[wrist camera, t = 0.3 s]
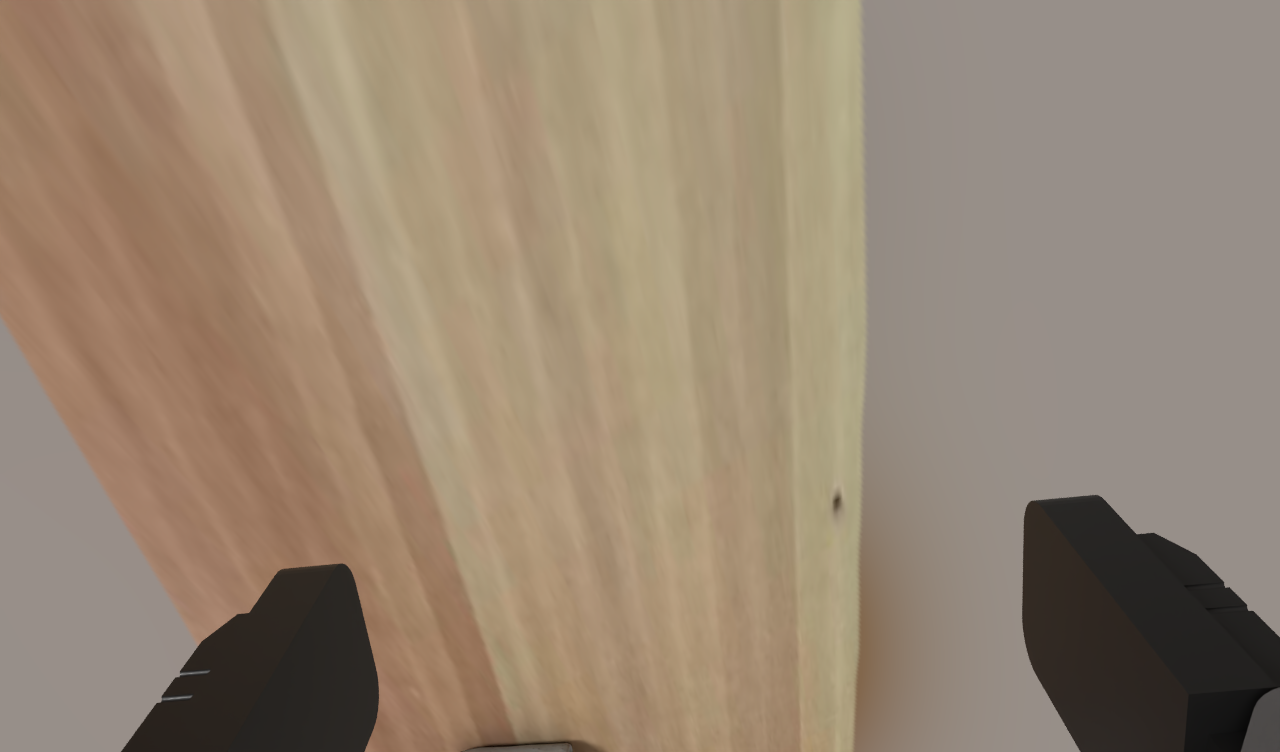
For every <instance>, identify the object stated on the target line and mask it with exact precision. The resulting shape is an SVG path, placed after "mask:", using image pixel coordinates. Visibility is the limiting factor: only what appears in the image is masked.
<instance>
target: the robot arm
mask: <svg viewBox="0 0 1280 752" xmlns="http://www.w3.org/2000/svg"><path fill="white" fill-rule="evenodd" d="M1023 548H1024V549H1023V606H1022V619H1023V620H1022V622H1023V632H1024V638H1025V644H1026V648H1027V652H1028V656H1029V659H1030V662H1031V665H1032V667H1033V669H1034V671H1035V673H1036V675H1037V677H1038V679H1039V681H1040V682H1041V684H1042V686H1043V688H1044V689H1045V691H1046V693H1047V694H1048V696H1049V698H1050V700H1051V701H1052V703H1053V705H1054V707H1055V708H1056V710H1057V712H1058V714H1059V715H1060V717H1061V719H1062V720H1063V722H1064V724H1065V726H1066V727H1067V729H1068V731H1069V733H1070V734H1071V736H1072V738H1073V739H1074V741H1075V743H1076V745H1077V746H1078V748H1079V750H1080V751H1081V752H1280V637H1279V636H1278V635H1277V634H1275V632H1274V631H1273V630H1271V628H1270V627H1269V626H1268V625H1267V624H1266V623H1265V622H1264V621H1263V620H1262V619H1261V618H1260V617H1259V616H1258V615H1257V614H1256V613H1255V612H1254V611H1248V609H1247V604H1246V603H1245V602H1244V601H1242V600H1241V598H1240V597H1238V596H1237V595H1236V594H1235V593H1234V592H1233V591H1232V590H1231V589H1230V588H1225V586H1224V582H1223V581H1222V580H1221V579H1220V578H1219V577H1218V576H1217V575H1216V574H1215V573H1214V572H1213V571H1212V570H1211V569H1210V568H1209V567H1208V566H1207V565H1206V564H1205V563H1204V562H1203V561H1202V560H1201V559H1200V558H1199V557H1198V556H1197V555H1196V554H1194V553H1192V552H1190V551H1188V550H1186V549H1184V548H1182V547H1180V546H1179V545H1177V544H1175V543H1173V542H1171V541H1169V540H1167V539H1165V538H1163V537H1161V536H1159V535H1157V534H1155V533H1147V534H1136V533H1135V532H1134V531H1133V530H1132V529H1131V528H1130V527H1129V526H1128V525H1127V524H1126V523H1125V522H1124V520H1122V518H1121V517H1120V516H1119V515H1118V514H1117V513H1116V512H1115V511H1114V510H1113V509H1112V508H1111V506H1110V505H1109V504H1108V503H1107V502H1106V501H1105V500H1104V499H1103V498H1102V497H1100V496H1098V495H1090V496H1080V497H1069V498H1058V499H1048V500H1036V501H1031V502H1030V503H1029V504H1028V505H1027V507H1026V511H1025V516H1024V546H1023ZM378 703H379V686H378V676H377V671H376V666H375V662H374V658H373V654H372V650H371V646H370V641H369V637H368V633H367V629H366V625H365V621H364V617H363V612H362V608H361V604H360V600H359V596H358V592H357V587H356V583H355V580H354V577H353V574H352V572H351V570H350V569H349V568H348V566H346V565H345V564H331V565H321V566H310V567H299V568H288V569H282V570H280V571H279V572H278V573H277V574H276V575H275V576H274V578H273V579H272V581H271V582H270V584H269V585H268V587H267V588H266V589H265V591H264V592H263V594H262V595H261V597H260V598H259V600H258V601H257V603H256V604H255V605H254V607H253V608H252V610H251V611H250V613H246V614H237V615H236V616H235V617H233V618H232V619H231V620H229V621H228V622H227V623H226V624H224V625H223V626H222V627H220V628H219V629H218V630H216V631H215V632H214V633H212V634H211V635H210V636H208V637H207V638H206V639H205V640H203V641H202V642H201V643H200V645H199V646H198V647H197V649H196V650H195V652H194V653H193V654H192V656H191V657H190V659H189V660H188V661H187V662H186V664H185V665H184V667H183V668H182V669H181V671H180V677H177V678H175V679H174V680H173V682H172V683H171V684H170V686H169V687H168V688H167V690H166V691H165V692H164V694H163V695H162V702H161V703H157V704H156V705H155V706H154V708H153V709H152V710H151V712H150V713H149V714H148V716H147V717H146V719H145V720H144V722H143V723H142V724H141V725H140V727H139V728H138V729H137V731H136V732H135V734H134V735H133V736H132V738H131V739H130V740H129V742H128V743H127V745H126V746H125V747H124V749H123V750H122V751H121V752H364V751H365V749H366V746H367V744H368V741H369V739H370V736H371V734H372V731H373V729H374V726H375V722H376V718H377V712H378Z"/></svg>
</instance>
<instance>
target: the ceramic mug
mask: <svg viewBox="0 0 1280 752" xmlns="http://www.w3.org/2000/svg"><path fill="white" fill-rule="evenodd" d="M462 752H573V749H572V746H571V745H570V744H568V743H559V744H539V745H521V746H511V747H480V748H474V749H469V750H465V751H462Z"/></svg>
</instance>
